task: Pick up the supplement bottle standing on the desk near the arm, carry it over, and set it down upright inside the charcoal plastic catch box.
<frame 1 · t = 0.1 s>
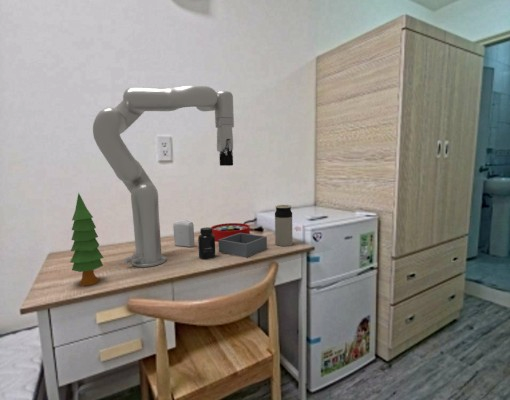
hand: (226, 165, 125), 37 cm above the table, tool pointing down, fingers open, 9 cm apart
travel mug: (283, 244, 140), on the table
decorative tree: (89, 282, 100), on the table
catch box: (243, 250, 132), on the table
supplement bottle: (207, 257, 124), on the table
toy clock: (230, 238, 155), on the table
photo printer: (184, 246, 142), on the table
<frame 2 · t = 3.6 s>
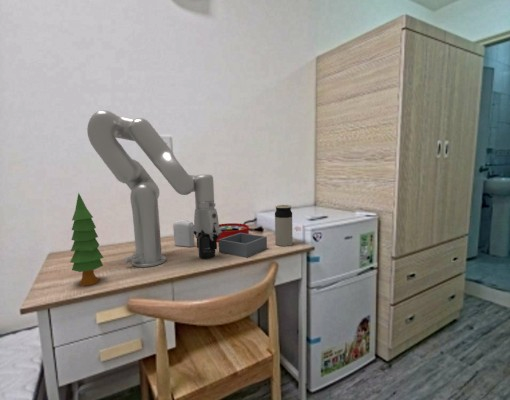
hand: (206, 248, 123), 4 cm above the table, tool pointing down, fingers closed on supplement bottle, 6 cm apart
supplement bottle: (207, 257, 124), on the table, touching gripper
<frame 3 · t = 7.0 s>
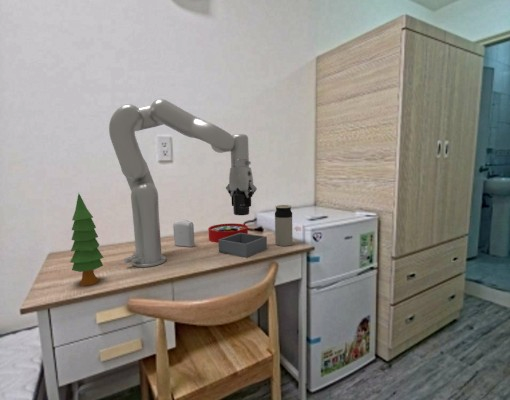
hand: (241, 205, 129), 20 cm above the table, tool pointing down, fingers closed on supplement bottle, 6 cm apart
supplement bottle: (241, 214, 130), point 16 cm above the table, touching gripper
when the fingers open (7 cm above the table, at t = 10.4 s): supplement bottle drops 2 cm, resting on catch box.
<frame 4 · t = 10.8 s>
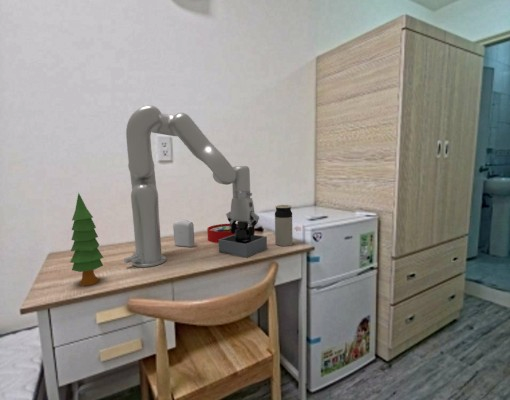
hand: (242, 234, 131), 7 cm above the table, tool pointing down, fingers open, 9 cm apart
supplement bottle: (243, 249, 131), point 1 cm above the table, touching catch box
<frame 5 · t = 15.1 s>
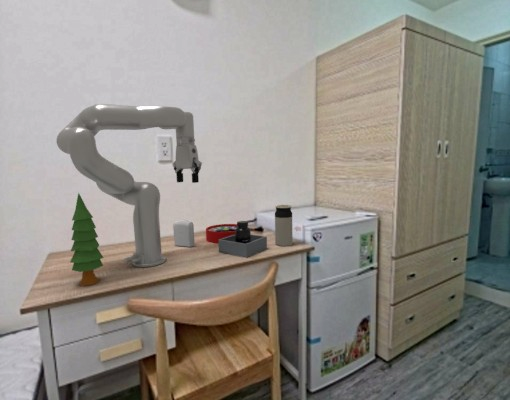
hand: (187, 182, 130), 30 cm above the table, tool pointing down, fingers open, 9 cm apart
at the end: supplement bottle inside the target area on the catch box (0.4 cm from its centre), point 0.6 cm above the catch box's base; supplement bottle tilted 0°; the gripper is holding nothing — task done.
